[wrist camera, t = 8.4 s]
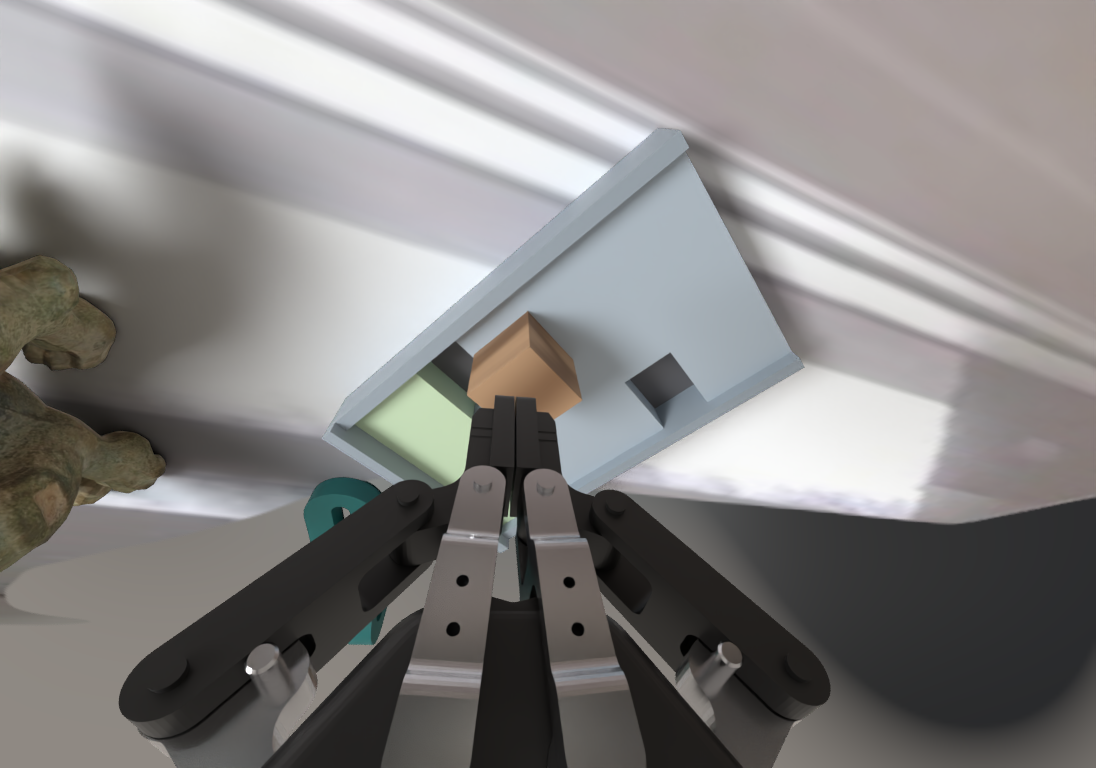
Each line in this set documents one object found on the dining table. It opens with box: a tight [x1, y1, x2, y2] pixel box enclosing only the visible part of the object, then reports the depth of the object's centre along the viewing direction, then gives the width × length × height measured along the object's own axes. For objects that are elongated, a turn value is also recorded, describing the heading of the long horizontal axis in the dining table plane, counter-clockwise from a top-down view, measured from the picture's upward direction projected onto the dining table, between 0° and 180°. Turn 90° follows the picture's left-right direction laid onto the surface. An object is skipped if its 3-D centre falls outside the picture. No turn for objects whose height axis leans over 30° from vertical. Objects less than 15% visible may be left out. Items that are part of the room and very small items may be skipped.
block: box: [467, 311, 582, 419], centre depth 27 cm, size 5×5×5 cm
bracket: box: [304, 477, 387, 645], centre depth 40 cm, size 18×7×8 cm, turn 171°
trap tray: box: [322, 128, 804, 553], centre depth 31 cm, size 19×30×5 cm, turn 129°
